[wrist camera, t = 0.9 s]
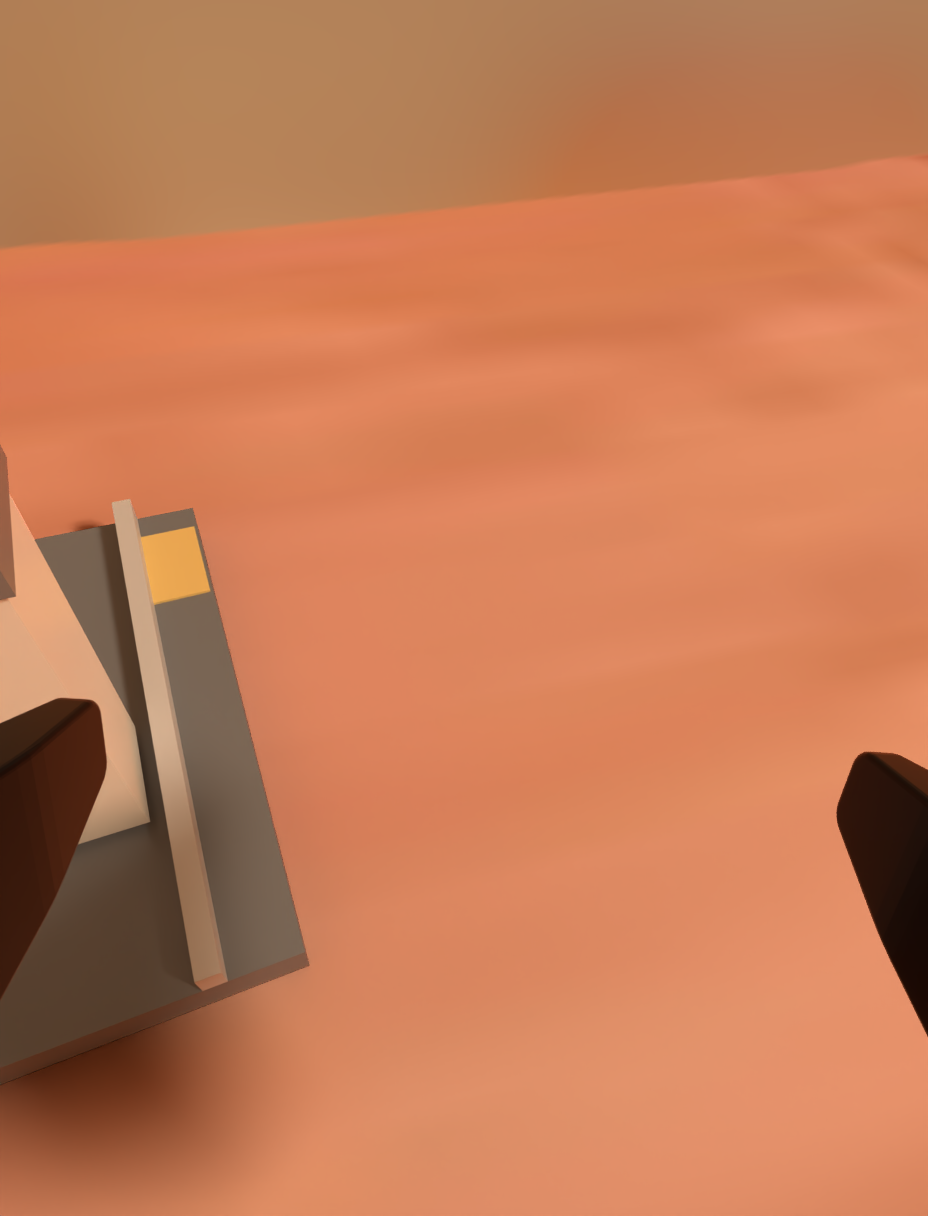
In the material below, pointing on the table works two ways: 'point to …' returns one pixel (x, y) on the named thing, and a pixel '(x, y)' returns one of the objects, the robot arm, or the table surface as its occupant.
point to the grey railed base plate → (156, 815)
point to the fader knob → (60, 667)
